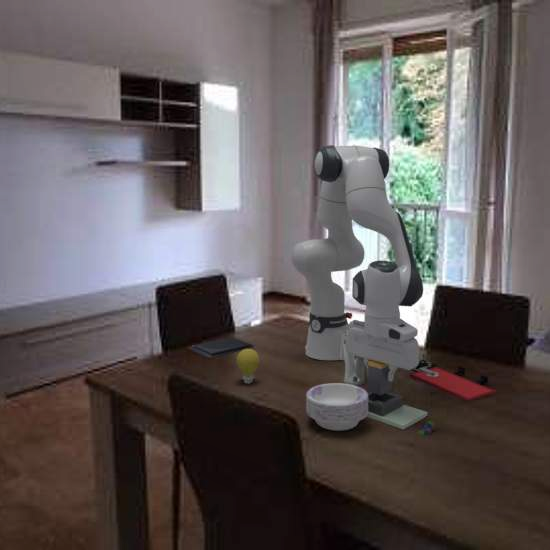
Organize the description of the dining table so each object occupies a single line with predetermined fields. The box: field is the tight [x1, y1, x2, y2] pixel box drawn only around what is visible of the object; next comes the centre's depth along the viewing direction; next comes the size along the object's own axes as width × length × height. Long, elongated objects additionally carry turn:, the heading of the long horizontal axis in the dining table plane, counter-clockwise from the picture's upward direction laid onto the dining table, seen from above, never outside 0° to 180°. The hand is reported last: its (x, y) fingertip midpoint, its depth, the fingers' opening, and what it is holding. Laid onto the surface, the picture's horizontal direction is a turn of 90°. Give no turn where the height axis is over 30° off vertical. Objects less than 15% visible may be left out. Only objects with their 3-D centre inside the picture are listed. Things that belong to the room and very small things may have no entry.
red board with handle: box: [408, 359, 498, 402], centre depth 177 cm, size 30×3×15 cm
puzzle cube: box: [416, 420, 435, 436], centre depth 143 cm, size 4×3×2 cm, turn 143°
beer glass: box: [343, 330, 366, 386], centre depth 174 cm, size 7×7×15 cm
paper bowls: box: [305, 382, 369, 432], centre depth 147 cm, size 15×15×8 cm
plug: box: [367, 360, 393, 395], centre depth 154 cm, size 5×4×8 cm
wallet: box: [186, 336, 255, 359], centre depth 208 cm, size 20×2×15 cm
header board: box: [366, 391, 428, 431], centre depth 155 cm, size 11×22×4 cm, turn 45°
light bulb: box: [236, 348, 260, 384], centre depth 174 cm, size 7×7×10 cm
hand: (380, 377), depth 154 cm, fingers closed on plug, 4 cm apart
